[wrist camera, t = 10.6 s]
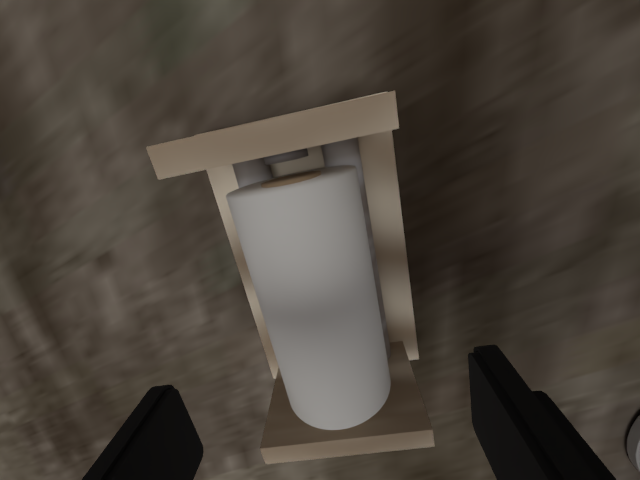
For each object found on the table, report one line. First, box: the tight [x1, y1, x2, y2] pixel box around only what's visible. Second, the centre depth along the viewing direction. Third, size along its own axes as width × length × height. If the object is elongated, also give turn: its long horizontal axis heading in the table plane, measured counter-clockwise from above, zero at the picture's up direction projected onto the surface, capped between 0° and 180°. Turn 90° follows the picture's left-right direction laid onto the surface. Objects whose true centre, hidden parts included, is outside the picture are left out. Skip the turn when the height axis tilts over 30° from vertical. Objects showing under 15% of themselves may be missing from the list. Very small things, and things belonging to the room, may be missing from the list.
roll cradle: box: [146, 91, 435, 464], centre depth 17 cm, size 18×11×8 cm, turn 12°
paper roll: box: [226, 165, 391, 430], centre depth 16 cm, size 12×6×6 cm, turn 12°
